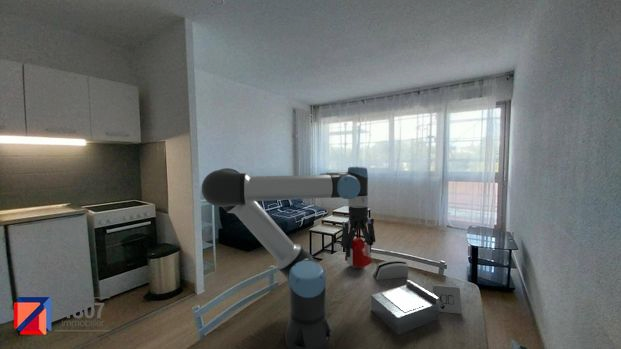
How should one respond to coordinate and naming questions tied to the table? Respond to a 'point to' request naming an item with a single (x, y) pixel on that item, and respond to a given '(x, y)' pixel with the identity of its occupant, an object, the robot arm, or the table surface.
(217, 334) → the table surface
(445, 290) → the electrical switch
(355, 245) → the bracket
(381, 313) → the grey ridged box
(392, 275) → the grey curved slab
